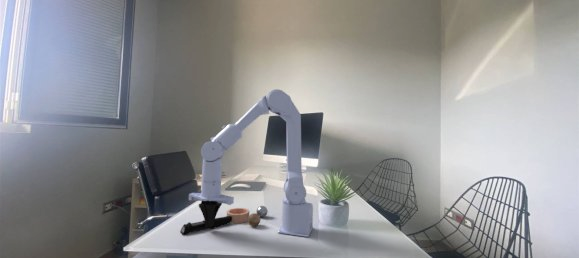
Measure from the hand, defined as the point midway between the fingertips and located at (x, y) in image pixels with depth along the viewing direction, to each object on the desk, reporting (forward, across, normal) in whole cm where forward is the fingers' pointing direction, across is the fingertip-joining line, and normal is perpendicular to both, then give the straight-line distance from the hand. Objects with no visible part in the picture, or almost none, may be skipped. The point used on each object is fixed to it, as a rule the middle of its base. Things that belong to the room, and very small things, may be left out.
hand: (209, 226), depth 70 cm
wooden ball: (-1, +11, +8) cm, 14 cm away
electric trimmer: (+2, -2, +2) cm, 3 cm away
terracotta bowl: (+1, +3, +12) cm, 12 cm away
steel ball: (-1, +10, +17) cm, 20 cm away
